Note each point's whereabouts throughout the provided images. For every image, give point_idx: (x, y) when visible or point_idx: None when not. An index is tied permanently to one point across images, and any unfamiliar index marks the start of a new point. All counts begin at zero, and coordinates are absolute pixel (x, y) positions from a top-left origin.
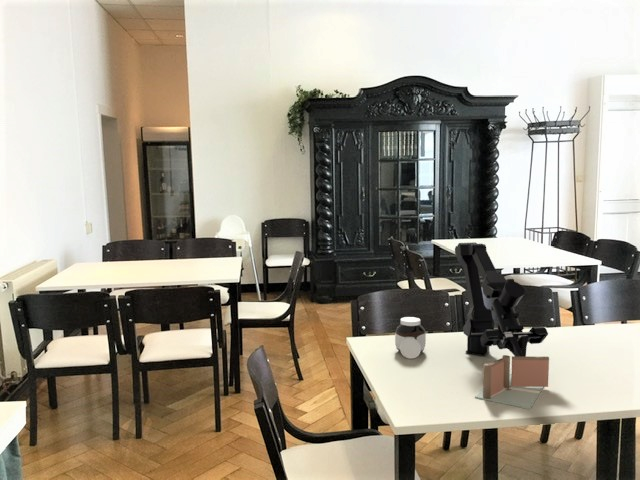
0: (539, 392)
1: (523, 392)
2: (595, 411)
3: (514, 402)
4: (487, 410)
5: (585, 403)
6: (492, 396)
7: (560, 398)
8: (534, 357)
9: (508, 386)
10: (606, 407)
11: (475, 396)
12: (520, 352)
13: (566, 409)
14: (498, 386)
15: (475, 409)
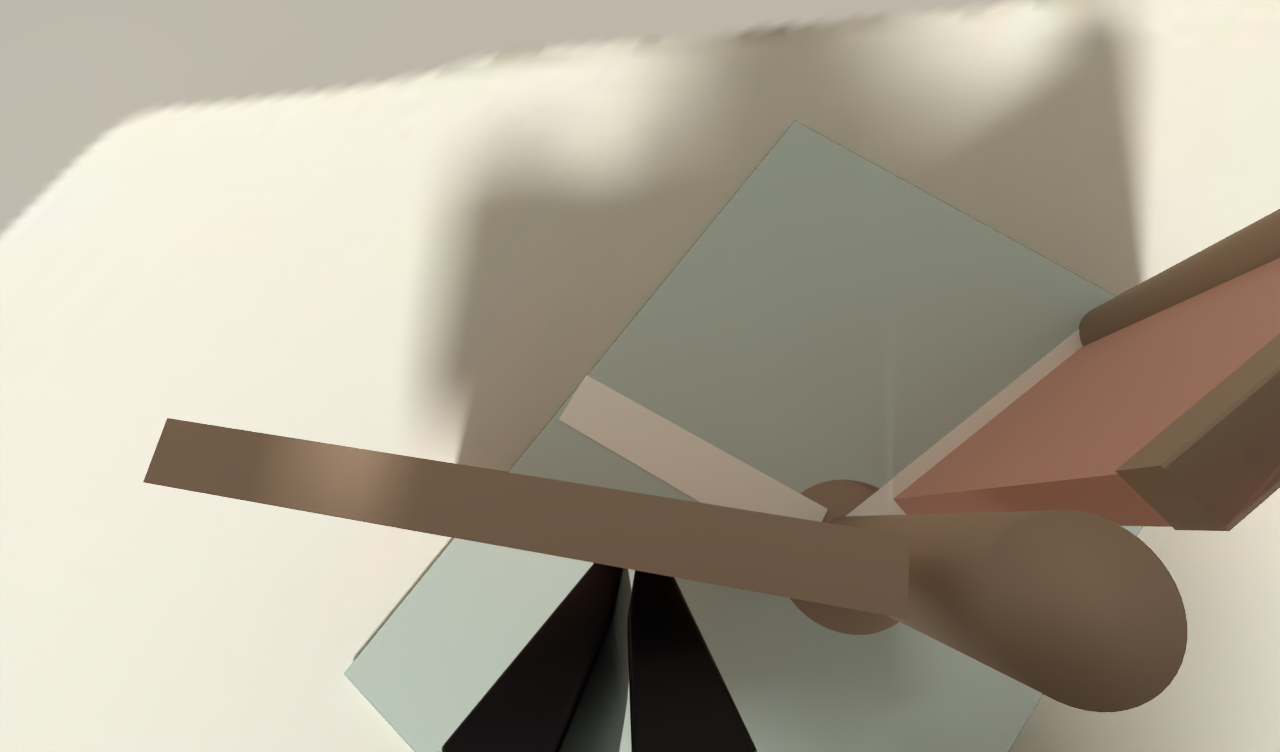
0: (573, 394)
1: (717, 410)
2: (371, 88)
3: (882, 219)
4: (1150, 124)
5: (346, 199)
6: (1054, 347)
7: (463, 291)
8: (425, 468)
9: (834, 520)
10: (263, 137)
11: None
12: (653, 689)
13: (534, 119)
14: (998, 429)
15: (1257, 143)
